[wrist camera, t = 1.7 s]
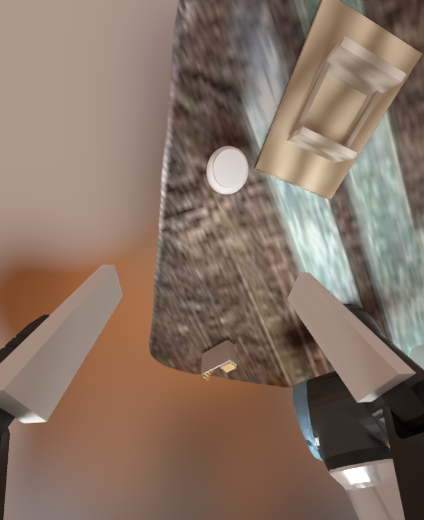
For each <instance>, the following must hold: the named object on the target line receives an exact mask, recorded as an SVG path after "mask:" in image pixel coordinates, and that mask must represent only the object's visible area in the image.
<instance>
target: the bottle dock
mask: <svg viewBox="0 0 424 520" xmlns="http://www.w3.org/2000/svg"><path fill="white" fill-rule="evenodd" d="M421 55H422V53H420V52H419V51H417V50H416V49H414V48H413V47H411V46H409V45H408V44H406V43H405V42H403V41H402V40H400V39H399V38H397V37H396V36H394V35H392V34H391V33H389V32H388V31H386V30H385V29H383V28H382V27H380V26H379V25H377V24H376V23H374V22H372V21H371V20H369V19H368V18H366V17H365V16H363V15H362V14H360V13H359V12H357V11H356V10H354V9H352V8H351V7H349V6H348V5H346V4H345V3H343V2H342V1H340V0H321V2H320V5H319V7H318V10H317V12H316V15H315V17H314V20H313V22H312V25H311V27H310V30H309V32H308V35H307V37H306V40H305V43H304V45H303V48H302V50H301V53H300V55H299V58H298V60H297V63H296V65H295V68H294V70H293V73H292V75H291V78H290V80H289V83H288V85H287V88H286V90H285V93H284V95H283V98H282V100H281V103H280V105H279V108H278V110H277V113H276V115H275V118H274V120H273V123H272V125H271V128H270V131H269V133H268V136H267V138H266V141H265V143H264V146H263V148H262V151H261V153H260V156H259V158H258V161H257V163H256V166H255V169H257V170H259V171H262V172H264V173H267V174H269V175H271V176H274V177H276V178H279V179H281V180H283V181H286V182H288V183H291V184H293V185H295V186H298V187H300V188H303V189H305V190H307V191H310V192H312V193H315V194H317V195H319V196H322V197H324V198H327V199H331V198H332V196H333V195H334V193H335V192H336V190H337V189H338V187H339V185H340V184H341V182H342V181H343V179H344V177H345V176H346V174H347V173H348V171H349V169H350V168H351V166H352V165H353V163H354V161H355V160H356V158H357V157H358V155H359V154H360V152H361V150H362V149H363V147H364V146H365V144H366V142H367V141H368V139H369V138H370V136H371V134H372V133H373V131H374V130H375V128H376V127H377V125H378V123H379V122H380V120H381V119H382V117H383V115H384V114H385V112H386V111H387V109H388V107H389V106H390V104H391V103H392V101H393V99H394V98H395V96H396V95H397V93H398V92H399V90H400V88H401V87H402V85H403V84H404V82H405V80H406V79H407V77H408V76H409V74H410V72H411V71H412V69H413V68H414V66H415V65H416V63H417V61H418V60H419V58H420V57H421Z"/></svg>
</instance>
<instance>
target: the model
mask: <svg viewBox="0 0 424 520" xmlns="http://www.w3.org/2000/svg"><path fill="white" fill-rule="evenodd" d="M236 365H237V362H236V355H235V348H234V344H233V343H232V342H230V341H229V340H226V341H224V342H222V343H220V344H219V345H217V346H215V347H213V348H211V349H210V350H208V351H206V352H204V353H203V354H202V373H201V375H203V377H204V378H205V379H207V381H208V380H209V378H210V376H211V374H212V372H213V371H214V369H215V368H217V367H219V366H221V368H222V369H223V370H224V371H226V372H229V371H231V370H233V369H235V368H236ZM203 377H202V378H203Z"/></svg>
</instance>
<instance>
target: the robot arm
mask: <svg viewBox="0 0 424 520" xmlns="http://www.w3.org/2000/svg"><path fill="white" fill-rule="evenodd" d="M122 297H123V295H122V291H121V288H120V284H119V280H118V276H117V273H116V269H115V266H114V265H101V266H100V267H99V268H98V269H97V270H96V271H95V272H94V273H93V274H92V275H91V276H90V277H89V278H88V279H87V280H86V281H85V282H84V283H83V284H82V285H81V286H80V287H79V288H78V289H77V290H76V291H75V292H74V293H72V295H70V296H69V297H68V298H67V299H66V300H65V301H64V302H63V303H62V304H61V305H60V306H59V307H58V308H57V309H56V310H55V311H54V312H53V313H52V314H51V315H43V316H41V317H40V318H38V319H36V320H35V321H33V322H32V323H30V324H29V325H27V326H26V327H25V328H24V329H23V330H22V331H21V332H20V333H18V334H17V335H16V338H13V339H12V340H11V341H10V342H9V343H7V344H6V346H5V348H2V349H1V350H0V520H3V515H4V503H5V490H6V477H7V464H8V451H9V438H10V433H9V429H8V426H9V425H10V424H11V422H12V421H13V420H14V418H16V419H18V420H19V421H21V422H23V423H33V422H47V420H48V418H49V417H50V415H51V414H52V412H53V410H54V408H55V407H56V405H57V404H58V402H59V400H60V399H61V397H62V395H63V394H64V392H65V391H66V389H67V387H68V386H69V384H70V382H71V381H72V379H73V377H74V376H75V374H76V372H77V371H78V369H79V367H80V366H81V364H82V362H83V361H84V359H85V358H86V356H87V354H88V353H89V351H90V349H91V348H92V346H93V344H94V343H95V341H96V339H97V338H98V336H99V334H100V333H101V331H102V330H103V328H104V326H105V325H106V323H107V321H108V320H109V318H110V316H111V315H112V313H113V312H114V310H115V308H116V307H117V305H118V303H119V302H120V300H121V298H122ZM287 300H288V301H289V302H290V304H291V305H292V307H293V308H294V310H295V311H296V313H297V314H298V316H299V317H300V319H301V320H302V322H303V323H304V325H305V326H306V328H307V329H308V330H309V332H310V333H311V335H312V336H313V338H314V339H315V341H316V342H317V344H318V345H319V347H320V348H321V350H322V351H323V353H324V354H325V356H326V357H327V359H328V360H329V361H330V363H331V364H332V366H333V367H334V369H335V370H336V371H333V372H330V373H327V374H324V375H321V376H318V377H315V378H312V379H306V381H304V382H301V383H299V384H297V385H295V386H294V388H293V402H294V407H295V410H296V415H297V418H298V421H299V424H300V427H301V430H302V433H303V435H304V437H305V439H306V441H307V444H308V447H309V448H310V450H311V452H312V454H313V455H314V457H316V458H317V459H320V460H324V462H325V465H326V467H327V469H328V472H329V474H330V475H331V476H332V477H334V478H335V479H336V480H337V481H338V482H339V483H340V484H342V486H343V487H344V488H345V489H346V491H347V493H348V495H349V497H350V500H351V502H352V504H353V506H354V508H355V510H356V513H357V515H358V517H359V519H360V520H424V370H423V369H422V368H421V367H420V366H419V365H417V364H416V363H415V362H414V361H413V360H412V359H410V358H409V357H408V356H407V355H406V354H404V353H403V352H402V351H401V350H400V349H399V348H397V347H396V346H395V345H394V344H393V343H392V342H390V341H389V340H388V339H387V338H386V337H385V336H384V334H383V333H382V331H381V330H380V328H379V327H378V325H377V324H376V322H375V321H374V320H373V318H372V317H371V316H370V314H368V313H367V312H366V311H365V310H363V309H362V308H361V307H359V306H355V305H343V304H342V303H341V302H340V301H339V300H338V299H337V298H336V297H334V296H333V295H332V294H331V293H330V292H329V291H328V290H327V289H326V288H325V287H324V286H323V285H322V284H321V283H320V282H319V281H317V280H316V279H315V278H314V277H313V276H312V275H311V274H310V273H301V272H300V273H299V275H298V277H297V280H296V282H295V284H294V286H293V288H292V290H291V292H290V295H289V297H288V299H287ZM388 445H390V448H389V447H388ZM390 449H391V450H390Z"/></svg>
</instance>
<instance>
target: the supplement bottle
mask: <svg viewBox="0 0 424 520" xmlns="http://www.w3.org/2000/svg"><path fill="white" fill-rule="evenodd" d="M247 176H248V162H247V159H246V157H245V155H244V154H243V153H242V151H240V150H239V149H237V148H235V147H232V146H224V147H221V148H219V149H218V150H216V151H215V152H214V153H213V154H212V155H211V157H210V159H209V161H208V164H207V179H208V182H209V184H210V186H211V188H212V189H213V190H215V191H216V192H218V193H221V194H232V193H235V192H237V191H238V190H239V189H240V188H241V187H242V186H243V185H244V183H245V182H246V179H247Z"/></svg>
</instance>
